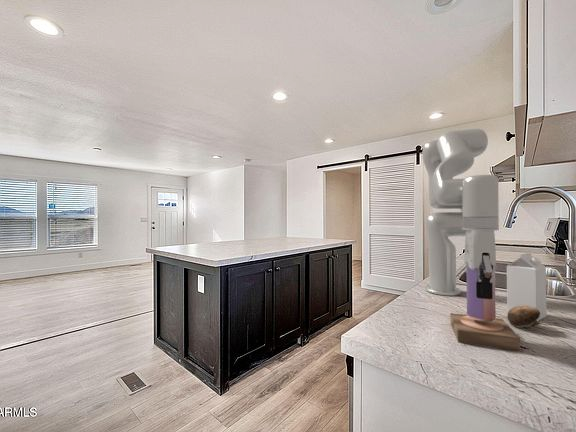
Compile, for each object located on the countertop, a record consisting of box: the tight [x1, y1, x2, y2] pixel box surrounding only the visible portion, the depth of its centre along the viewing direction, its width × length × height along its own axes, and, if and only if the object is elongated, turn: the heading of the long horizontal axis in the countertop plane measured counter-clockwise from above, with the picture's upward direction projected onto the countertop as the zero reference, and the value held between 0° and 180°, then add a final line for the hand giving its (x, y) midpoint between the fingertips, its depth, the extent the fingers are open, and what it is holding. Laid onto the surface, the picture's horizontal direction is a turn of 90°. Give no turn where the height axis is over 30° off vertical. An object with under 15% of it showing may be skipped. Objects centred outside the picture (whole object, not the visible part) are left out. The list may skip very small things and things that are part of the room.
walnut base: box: [449, 312, 521, 352], centre depth 69 cm, size 12×12×4 cm
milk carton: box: [506, 251, 547, 322], centre depth 82 cm, size 7×7×19 cm
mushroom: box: [507, 306, 542, 329], centre depth 74 cm, size 8×8×6 cm
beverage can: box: [465, 262, 497, 322], centre depth 69 cm, size 6×6×15 cm
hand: (480, 293), depth 69 cm, fingers closed on beverage can, 5 cm apart
